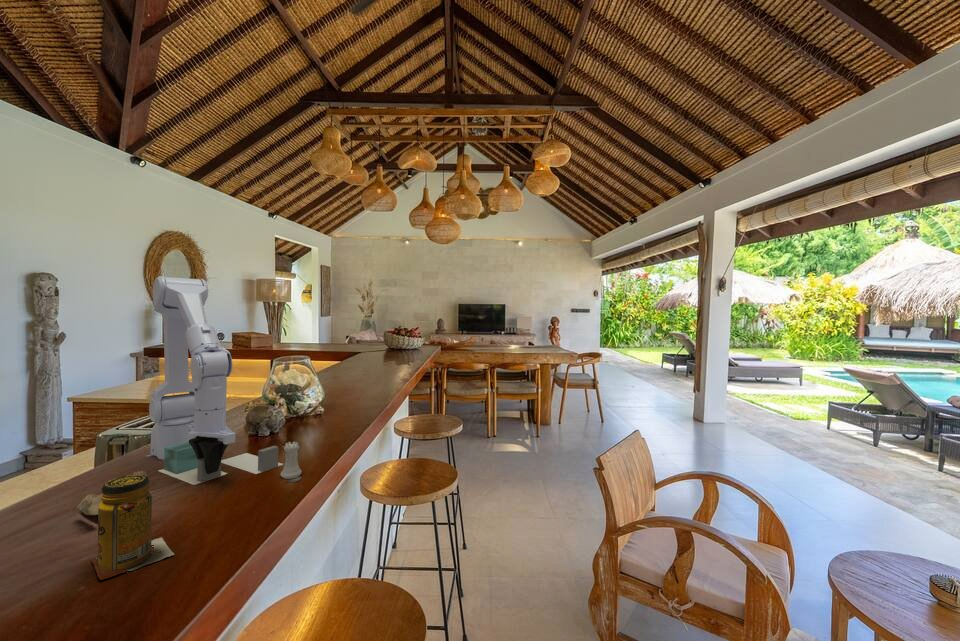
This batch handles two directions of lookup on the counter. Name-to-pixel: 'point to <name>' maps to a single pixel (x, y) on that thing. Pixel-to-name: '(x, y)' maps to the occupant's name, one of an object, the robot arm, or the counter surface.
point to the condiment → (127, 525)
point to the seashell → (96, 501)
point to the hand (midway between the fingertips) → (209, 471)
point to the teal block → (180, 458)
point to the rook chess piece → (291, 463)
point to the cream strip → (196, 474)
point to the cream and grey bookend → (255, 460)
